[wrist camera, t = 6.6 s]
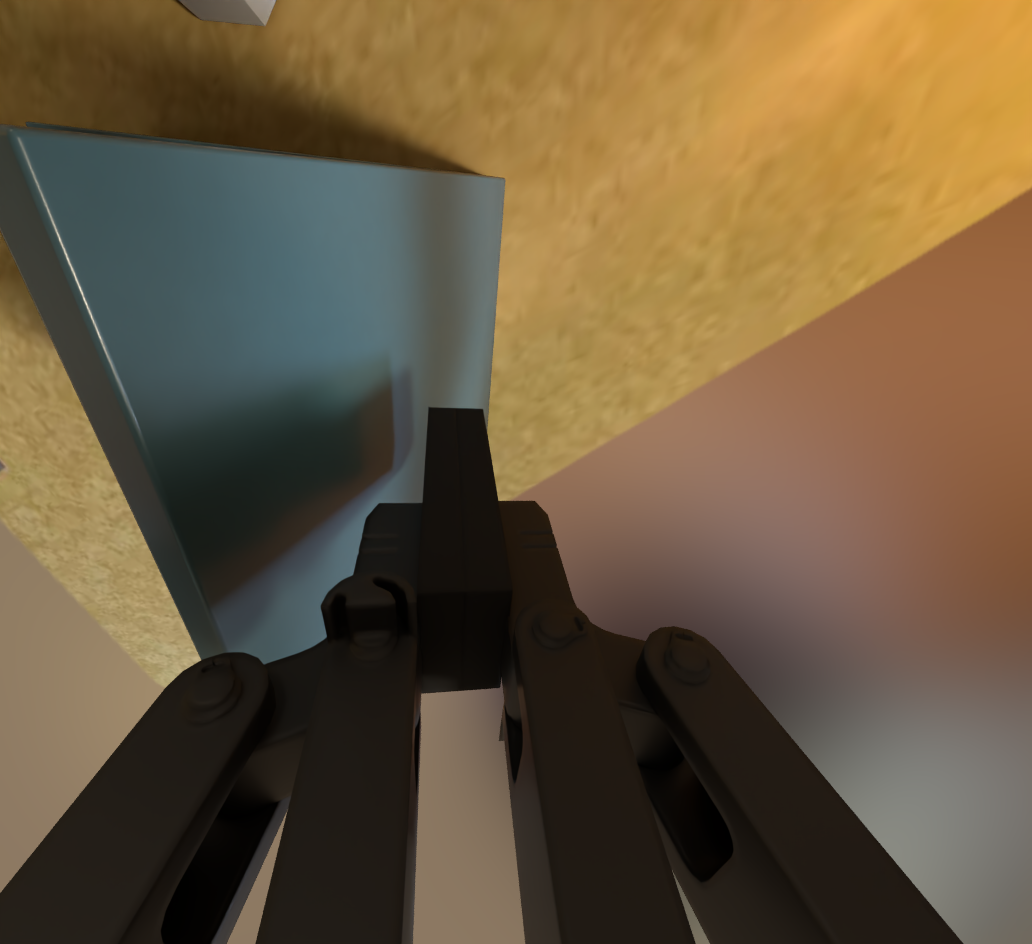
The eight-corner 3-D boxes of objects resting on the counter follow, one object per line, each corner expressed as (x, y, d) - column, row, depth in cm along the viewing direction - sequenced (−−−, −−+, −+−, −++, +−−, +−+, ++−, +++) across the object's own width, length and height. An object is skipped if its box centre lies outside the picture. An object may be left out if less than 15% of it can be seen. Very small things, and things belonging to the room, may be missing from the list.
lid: (263, 795, 11) (288, 803, 11) (-58, 118, 4) (8, 125, 4) (474, 449, 26) (485, 451, 26) (489, 176, 19) (505, 178, 19)
